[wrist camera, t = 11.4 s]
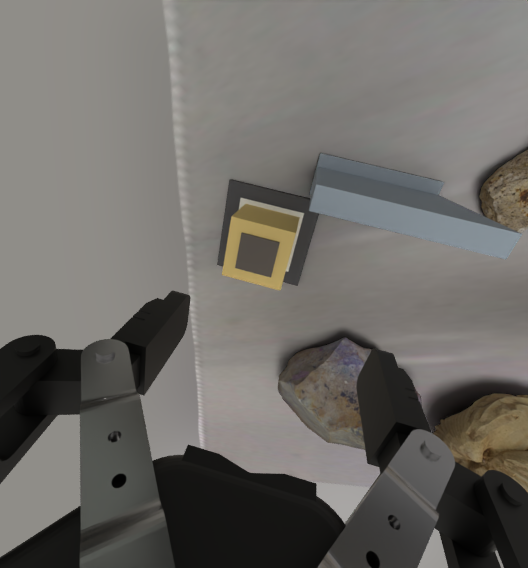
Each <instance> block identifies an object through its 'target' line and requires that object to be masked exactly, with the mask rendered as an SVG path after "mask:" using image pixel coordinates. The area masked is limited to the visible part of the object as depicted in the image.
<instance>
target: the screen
mask: <svg viewBox="0 0 528 568" xmlns="http://www.w3.org/2000/svg"><path fill="white" fill-rule="evenodd" d="M443 184H444V182H442V181H438V180H434V179H429V178H425V177H421V176H417V175H412V174H408V173H404V172H400V171H395V170H391V169H387V168H383V167H378V166H374V165H370V164H366V163H361V162H357V161H353V160H349V159H344V158H340V157H336V156H332V155H328V154H323V153H320V156H319V160H318V163H317V167H316V171H315V175H314V178H313V182H312V186H311V189H310V193H309V195H311V198H310V206H309V211H312V212H316V213H320V214H324V215H328V216H332V217H336V218H340V219H344V220H348V221H352V222H356V223H360V224H364V225H368V226H372V227H376V228H380V229H385V230H389V231H393V232H397V233H401V234H405V235H409V236H413V237H417V238H421V239H425V240H429V241H433V242H437V243H441V244H445V245H449V246H453V247H457V248H462V249H466V250H470V251H474V252H478V253H482V254H486V255H490V256H494V257H498V258H502V259H507V257H508V256H509V254H510V253H511V251H512V250H513V248H514V246H515V245H516V243H517V242H518V240H519V239H520V237H521V235H522V234H521V233H519V232H517V231H515V230H513V229H510V228H508V227H506V226H504V225H502V224H500V223H497V222H495V221H493V220H491V219H489V218H487V217H485V216H482V215H480V214H478V213H476V212H474V211H472V210H469V209H467V208H465V207H463V206H461V205H459V204H456V203H454V202H452V201H450V200H448V199H446V198H444V197H441V196H439V193H440V191H441V189H442V187H443Z"/></svg>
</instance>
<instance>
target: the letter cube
mask: <svg viewBox="0 0 528 568" xmlns="http://www.w3.org/2000/svg"><path fill="white" fill-rule="evenodd" d="M299 218H300V217H296V216H292V215H289V214H285V213H281V212H277V211H273V210H269V209H265V208H261V207H257V206H253V205H249V204H245V205H244V206H243V207H241V208H240V209H239V210H238V211H237V212H236V213H235V214H234V215H232V216H231V222H230V228H229V234H228V241H227V247H226V253H225V259H224V265H223V271H222V275H224V276H228V277H232V278H235V279H239V280H243V281H246V282H250V283H254V284H258V285H261V286H265V287H269V288H272V289H276V290H281V286H282V283H283V279H284V275H285V272H286V268H287V264H288V261H289V257H290V254H291V250H292V246H293V243H294V239H295V235H296V231H297V227H298V223H299Z"/></svg>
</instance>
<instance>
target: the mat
mask: <svg viewBox="0 0 528 568" xmlns="http://www.w3.org/2000/svg"><path fill="white" fill-rule="evenodd" d="M245 204H249V205H253V206H257V207H261V208H265V209H269V210H273V211H277V212H281V213H285V214H289V215H292V216H296V217H300V218H299V223H298V227H297V231H296V235H295V239H294V243H293V246H292V250H291V254H290V257H289V261H288V264H287V268H286V272H285V275H284V279H283V282H285V283H289V284H293V285H297V286H298V282H299V279H300V276H301V272H302V269H303V265H304V262H305V259H306V255H307V252H308V248H309V245H310V242H311V238H312V235H313V232H314V228H315V225H316V221H317V218H318V215H319V213H316V212H312V211H309V206H310V199H309V198H305V197H301V196H297V195H293V194H289V193H285V192H281V191H277V190H272V189H268V188H264V187H260V186H256V185H252V184H248V183H244V182H240V181H236V180H229V187H228V194H227V201H226V208H225V215H224V222H223V229H222V236H221V242H220V249H219V256H218V263H217V265H220V266H223V265H224V259H225V253H226V247H227V241H228V234H229V228H230V222H231V216H232V215H234V214H235V213H236V212H237V211H238V210H239V209H240V208H241V207H243V206H244V205H245Z"/></svg>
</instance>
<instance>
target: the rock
mask: <svg viewBox="0 0 528 568" xmlns="http://www.w3.org/2000/svg"><path fill="white" fill-rule="evenodd" d="M479 197H480V199H481V201H482V206H481V208H482V209H483V213H484V215H485V216H486V217H487V218H489V219H491V220H493V221H495V222H497V223H500V224H502V225H504V226H506V227H508V228H510V229H513V230H515V231H517V232H519V233H521V232H522V231H524V230H526V229H528V150H526V151H525V152H523V153H521V154H520V155H517V156H516V157H515V158H514V159H512V160H510V161H508V162H507V163H506V164H504V165H503V166H502V167H500V168H499V169H498V170H496V172H495V173H494V174H493V175H492V176H490V178H488V180H487V181H486V182H485V183H484V184H483V186H482V187H481V192H480V196H479Z"/></svg>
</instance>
